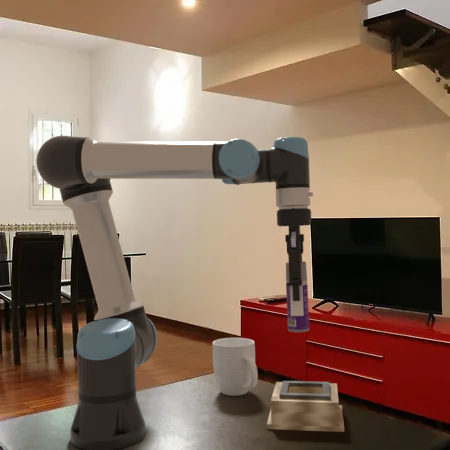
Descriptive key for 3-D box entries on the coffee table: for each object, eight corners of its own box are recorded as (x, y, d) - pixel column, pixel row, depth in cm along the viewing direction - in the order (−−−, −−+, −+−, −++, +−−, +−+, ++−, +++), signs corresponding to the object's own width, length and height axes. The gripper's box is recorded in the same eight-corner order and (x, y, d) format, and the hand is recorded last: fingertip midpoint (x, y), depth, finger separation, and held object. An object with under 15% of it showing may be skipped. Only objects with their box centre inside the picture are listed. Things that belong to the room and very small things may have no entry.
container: (310, 331, 120) (307, 262, 120) (289, 332, 120) (286, 263, 120) (307, 327, 125) (305, 261, 125) (286, 328, 125) (284, 262, 125)
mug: (274, 397, 139) (272, 344, 139) (237, 405, 133) (236, 351, 133) (239, 383, 151) (238, 335, 151) (205, 391, 145) (204, 341, 145)
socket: (266, 428, 117) (266, 396, 117) (272, 407, 131) (271, 378, 131) (344, 432, 114) (343, 399, 114) (341, 409, 128) (341, 380, 128)
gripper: (309, 206, 113) (314, 320, 113) (311, 208, 131) (315, 307, 131) (273, 207, 115) (277, 320, 115) (279, 209, 132) (283, 307, 132)
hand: (297, 313), depth 123 cm, fingers closed on container, 5 cm apart
